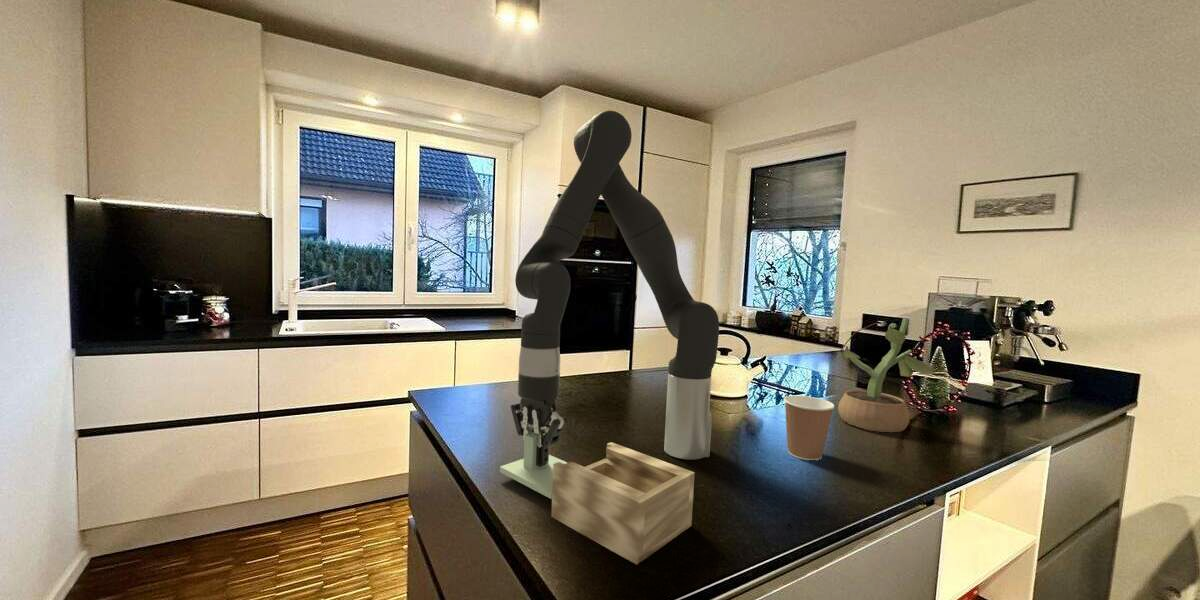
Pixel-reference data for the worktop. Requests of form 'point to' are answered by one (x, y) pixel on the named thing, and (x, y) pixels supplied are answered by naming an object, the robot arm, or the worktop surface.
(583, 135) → the robot arm
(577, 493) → the box
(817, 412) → the coffee cup
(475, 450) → the worktop surface
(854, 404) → the potted plant
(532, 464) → the lid
